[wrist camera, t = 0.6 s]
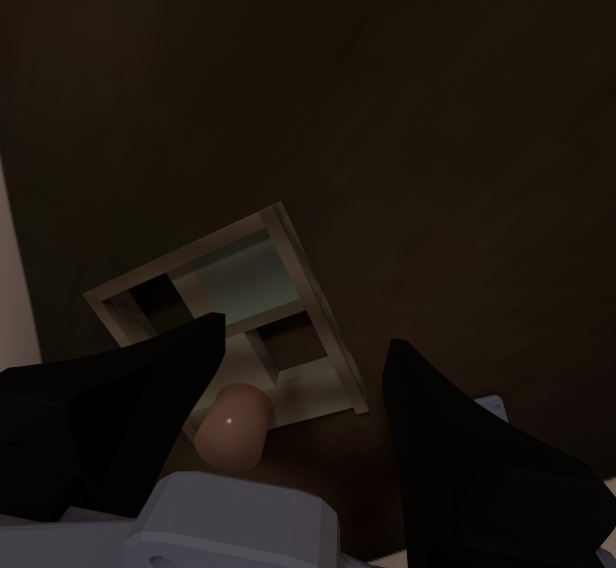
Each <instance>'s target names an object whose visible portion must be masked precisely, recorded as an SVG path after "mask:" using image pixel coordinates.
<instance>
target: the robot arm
mask: <svg viewBox="0 0 616 568" xmlns="http://www.w3.org/2000/svg"><path fill="white" fill-rule="evenodd" d="M225 353H226V314H223V313H217V312H210V313H207V314H205V315H203V316H200V317H198V318H196V319H194V320H192V321H190V322H187V323H185V324H183V325H181V326H179V327H176V328H174V329H172V330H169V331H167V332H165V333H162V334H160V335H157V336H155V337H152V338H150V339H147V340H144V341H141V342H138V343H135V344H132V345H129V346H126V347H122V348H119V349H115V350H111V351H107V352H103V353H99V354H95V355H91V356H86V357H81V358H76V359H70V360H65V361H59V362H52V363H45V364H36V365H28V366H20V367H10V368H7V369H5V370H4V371H2V372H0V568H384V567H379V566H374V565H370V564H368V563H365V562H363V561H361V560H358V559H356V558H354V557H351V556H349V555H347V554H344V553H342V552H340V527H339V521H338V516H337V513H336V512H335V511H334V510H333V509H332V508H331V507H330V506H329V505H328V504H327V503H326V502H325V501H324V500H322V499H321V498H320V497H319V496H316V495H314V494H311V493H308V492H306V491H303V490H300V489H296V488H291V487H285V486H280V485H274V484H269V483H263V482H258V481H252V480H247V479H241V478H236V477H230V476H225V475H219V474H214V473H208V472H203V471H177V472H174V473H172V474H170V475H169V476H167V477H165V478H163V479H161V480H160V481H159V482H158V484H157V485H156V487H155V489H154V491H153V492H152V494H151V491H152V489H153V487H154V485H155V482H156V480H157V478H158V476H159V474H160V472H161V469H162V467H163V465H164V463H165V461H166V459H167V457H168V455H169V453H170V451H171V449H172V447H173V445H174V443H175V441H176V439H177V437H178V435H179V433H180V431H181V429H182V427H183V425H184V423H185V422H186V420H187V418H188V417H189V415H190V413H191V412H192V410H193V409H194V407H195V406H196V404H197V402H198V401H199V399H200V398H201V396H202V395H203V393H204V392H205V390H206V389H207V387H208V385H209V384H210V382H211V381H212V379H213V378H214V376H215V374H216V373H217V371H218V369H219V367H220V364H221V362H222V360H223V358H224V356H225ZM382 385H383V396H384V403H385V407H386V412H387V416H388V421H389V425H390V429H391V434H392V438H393V442H394V447H395V451H396V457H397V463H398V471H399V479H400V487H401V496H402V506H403V515H404V526H405V537H406V549H407V562H408V568H616V559H615V557H614V556H613V555H612V554H611V553H610V552H608V551H607V550H604V549H603V548H601V547H600V546H601V545H602V544H603V542H604V541H605V540H606V539H607V538H608V536H609V535H610V534H611V533H612V531H613V530H614V529H615V527H616V497H615V495H614V494H613V493H612V492H611V491H610V489H609V488H608V487H607V486H606V485H605V483H604V482H603V481H602V480H601V479H600V478H599V476H598V475H597V474H596V473H595V472H594V470H593V469H592V468H591V467H590V466H589V464H587V463H585V462H583V461H581V460H579V459H577V458H575V457H573V456H571V455H568V454H566V453H564V452H562V451H560V450H558V449H556V448H554V447H552V446H550V445H547V444H545V443H544V442H542V441H540V440H538V439H536V438H534V437H532V436H531V435H529V434H527V433H525V432H523V431H521V430H520V429H518V428H516V427H514V426H513V425H511V424H509V423H508V420H507V416H506V412H505V409H504V405H503V402H502V400H501V398H500V397H499V396H497V395H492V396H488V397H484V398H480V399H475V400H473V399H472V398H470V397H469V396H468V395H466V394H465V393H463V392H462V391H461V390H460V389H458V388H457V387H456V386H455V385H454V384H452V383H451V382H450V381H449V380H448V379H447V378H445V377H444V376H443V375H442V374H441V373H440V372H439V371H438V370H437V369H436V368H434V367H433V366H432V365H431V364H430V363H429V362H428V361H427V360H426V359H425V358H424V357H423V356H422V355H421V354H420V353H419V352H418V351H417V350H416V349H415V348H414V347H413V346H412V345H411V344H410V343H409V342H408V341H406V340H400V339H393V338H392V339H391V343H390V347H389V351H388V355H387V359H386V363H385V367H384V371H383V375H382ZM496 405H497V406H496ZM150 494H151V496H150ZM149 496H150V497H149ZM148 498H149V499H148ZM147 500H148V501H147Z"/></svg>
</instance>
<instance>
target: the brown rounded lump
mask: <svg viewBox="0 0 616 568" xmlns="http://www.w3.org/2000/svg"><path fill="white" fill-rule="evenodd" d="M272 414H273V406H272V403H271V401H270V399H269V397H268V396H267V395H266V394H265V393H264V392H263V391H262V390H260V389H259V388H257V387H255V386H253V385H249V384H245V383H234V384H230V385H227V386H225V387H224V388H222V389H221V390H220V391H219V393H218V395H217V396H216V398H215V400H214V402H213V404H212V406H211V407H210V409H209V411H208V413H207V415H206V417H205V418H204V420H203V422H202V424H201V426H200V428H199V429H198V431H197V433H196V435H195V441H194V443H195V447H196V450H197V452H198V453H199V455H200V456H201V457H202V458H203V459H204V460H205V461H206V462H207V463H209V464H210V465H212V466H214V467H216V468H218V469H221V470H224V471H230V472H241V471H245V470H248V469H251V468H252V467H254V466H255V465H256V464H257V463H258V462H259V460H260V457H261V454H262V450H263V446H264V443H265V439H266V436H267V432H268V428H269V425H270V421H271V417H272Z"/></svg>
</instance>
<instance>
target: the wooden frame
mask: <svg viewBox="0 0 616 568" xmlns="http://www.w3.org/2000/svg"><path fill="white" fill-rule="evenodd" d="M165 272H166V273H167V275H168V277H169V278H170V280H171V281H172V283H173V285H174V286H175V288H176V289H177V291H178V292H179V294H180V296H181V297H182V299H183V300H184V302H185V304H186V305H187V307H188V308H189V310H190V312H191V313H192V315H193V316H194V318H195V319H196V318H198V317H200V316H203V315H205V314H207V313H210V312H217V313H223V314H226V353H225V356H224V358H223V360H222V362H221V364H220V367H219V369H218V371H217V373H216V374H215V376H214V378H213V379H212V381H211V382H210V384H209V385H208V387H207V389H206V390H205V392H204V393H203V395H202V396H201V398H200V399H199V401H198V402H197V404H196V406H195V407H194V409H193V410H192V412H191V413H190V415H189V417H188V418H187V420H186V422H185V423H184V425H183V427H182V429H183V431H184V432H185V433H186V435H187V436H188V437H189V439H190V440H191V441H192V443H193V444H194V445H195V443H194V441H195V435H196V433H197V431H198V429H199V428H200V426H201V424H202V422H203V420H204V418H205V417H206V415H207V413H208V411H209V409H210V407H211V406H212V404H213V402H214V400H215V398H216V396H217V395H218V393H219V391H220V390H221V389H222V388H224V387H225V386H227V385H230V384H234V383H245V384H249V385H253V386H255V387H257V388H259V389H260V390H262V391H263V392H264V393H265V394H266V395H267V396H268V397H269V399H270V401H271V403H272V406H273V414H272V417H271V421H270V425H269V428H268V429H272V428H276V427H280V426H284V425H287V424H291V423H295V422H299V421H303V420H307V419H311V418H315V417H318V416H322V415H326V414H330V413H334V412H338V411H342V410H345V409H349V408H354V410H355V412H356V414H360V413H364V412H368V411H369V409H368V400H367V392H366V386H365V384H364V381H363V379H362V377H361V375H360V373H359V370H358V368H357V366H356V364H355V362H354V359H353V357H352V355H351V353H350V351H349V348H348V346H347V344H346V342H345V340H344V337H343V335H342V333H341V331H340V329H339V326H338V324H337V322H336V320H335V318H334V316H333V313H332V311H331V309H330V307H329V305H328V302H327V300H326V298H325V296H324V294H323V291H322V289H321V287H320V285H319V283H318V280H317V278H316V276H315V274H314V272H313V269H312V267H311V265H310V263H309V261H308V259H307V256H306V254H305V252H304V250H303V248H302V245H301V243H300V241H299V239H298V237H297V234H296V232H295V230H294V228H293V226H292V223H291V221H290V219H289V217H288V215H287V212H286V210H285V208H284V206H283V204H282V201H281V202H279V203H276V204H274V205H272V206H270V207H268V208H266V209H264V210H261V211H259V212H257V213H255V214H253V215H251V216H248V217H246V218H244V219H242V220H240V221H238V222H236V223H233V224H231V225H229V226H227V227H225V228H223V229H221V230H218V231H216V232H214V233H212V234H210V235H208V236H205V237H203V238H201V239H199V240H197V241H195V242H193V243H190V244H188V245H186V246H184V247H182V248H180V249H178V250H175V251H173V252H171V253H169V254H167V255H165V256H162V257H160V258H158V259H156V260H154V261H152V262H150V263H147V264H145V265H143V266H141V267H139V268H137V269H135V270H132V271H130V272H128V273H126V274H124V275H122V276H120V277H117V278H115V279H113V280H111V281H109V282H107V283H105V284H103V285H101V286H98V287H96V288H94V289H92V290H90V291H88V292H86V293H84V294H82V295H83V296H84V298H85V299H86V300H87V302H88V303H89V304H90V306H91V307H92V308H93V310H94V311H95V312H96V314H97V315H98V317H99V318H100V319H101V321H102V322H103V323H104V325H105V326H106V327H107V329H108V330H109V331H110V333H111V334H112V335H113V337H114V338H115V339H116V341H117V342H118V343H119V345H120V346H121V347H126V346H129V345H132V344H135V343H138V342H141V341H144V340H147V339H150V338H152V337H155V336H157V335H159V334H158V333H157V331H156V330H155V328H154V327H153V326H152V324H151V323H150V321H149V320H148V318H147V317H146V315H145V314H144V312H143V311H142V309H141V308H140V307H139V305H138V304H137V302H136V301H135V299H134V298H133V296H132V295H131V293H130V292H129V291H128V289H129V288H132V287H134V286H136V285H138V284H141V283H143V282H145V281H147V280H149V279H152V278H154V277H156V276H158V275H161V274H163V273H165ZM305 310H306V311H307V313H308V315H309V317H310V319H311V321H312V324H313V326H314V328H315V330H316V332H317V334H318V336H319V338H320V340H321V342H322V344H323V346H324V348H325V350H326V352H327V354H328V357H325V358H321V359H318V360H315V361H312V362H308V363H305V364H302V365H299V366H296V367H292V368H289V369H286V370H283V371H279V369H278V367H277V365H276V364H275V362H274V360H273V358H272V357H271V355H270V353H269V351H268V349H267V348H266V346H265V344H264V342H263V340H262V339H261V337H260V335H259V333H258V332H257V330H256V328H257V327H260V326H263V325H265V324H268V323H271V322H274V321H277V320H279V319H282V318H285V317H288V316H291V315H293V314H296V313H299V312H302V311H305Z"/></svg>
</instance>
